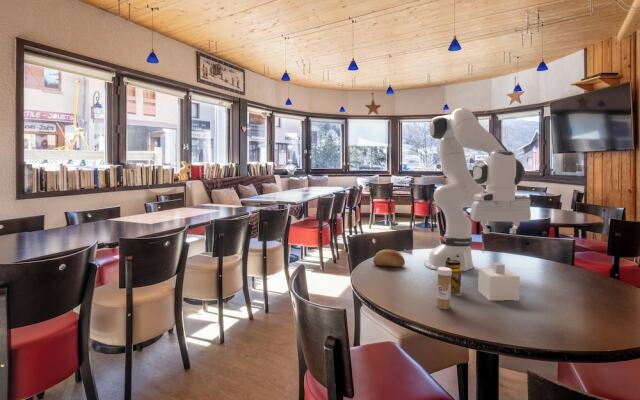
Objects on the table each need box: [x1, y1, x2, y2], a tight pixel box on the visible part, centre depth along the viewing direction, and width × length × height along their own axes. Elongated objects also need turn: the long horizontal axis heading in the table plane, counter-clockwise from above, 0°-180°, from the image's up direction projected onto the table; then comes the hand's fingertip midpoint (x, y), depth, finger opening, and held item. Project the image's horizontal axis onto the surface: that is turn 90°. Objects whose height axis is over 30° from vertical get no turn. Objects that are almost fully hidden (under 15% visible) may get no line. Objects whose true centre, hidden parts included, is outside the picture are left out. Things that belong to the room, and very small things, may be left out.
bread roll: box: [372, 248, 406, 268], centre depth 176 cm, size 10×15×8 cm, turn 72°
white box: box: [477, 262, 521, 302], centre depth 135 cm, size 10×10×12 cm
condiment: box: [445, 260, 463, 296], centre depth 140 cm, size 7×8×12 cm
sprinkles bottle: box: [436, 267, 452, 310], centre depth 124 cm, size 5×5×13 cm
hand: (499, 233), depth 134 cm, fingers open, 8 cm apart
